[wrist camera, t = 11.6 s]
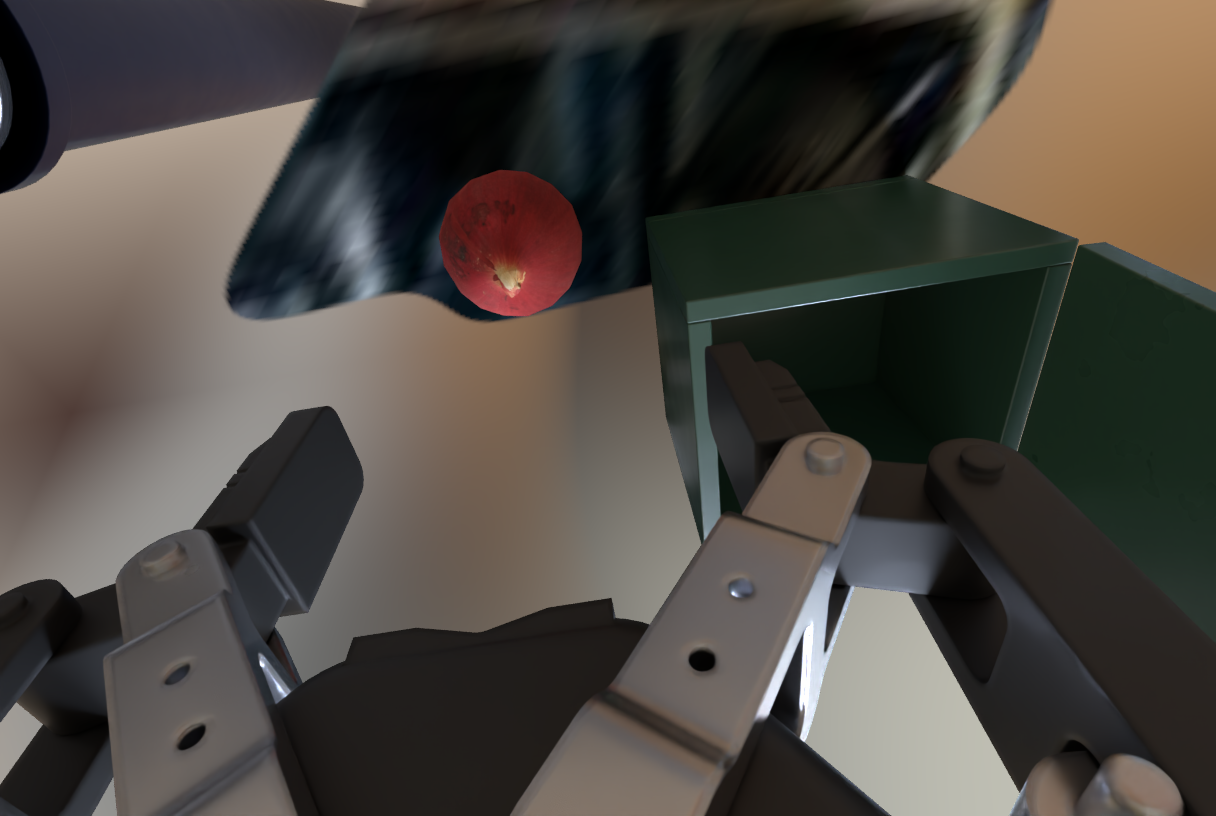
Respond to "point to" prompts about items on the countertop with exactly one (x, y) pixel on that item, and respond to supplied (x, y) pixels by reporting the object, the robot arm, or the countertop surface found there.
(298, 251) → the countertop surface
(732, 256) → the box
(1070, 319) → the lid
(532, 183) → the onion
